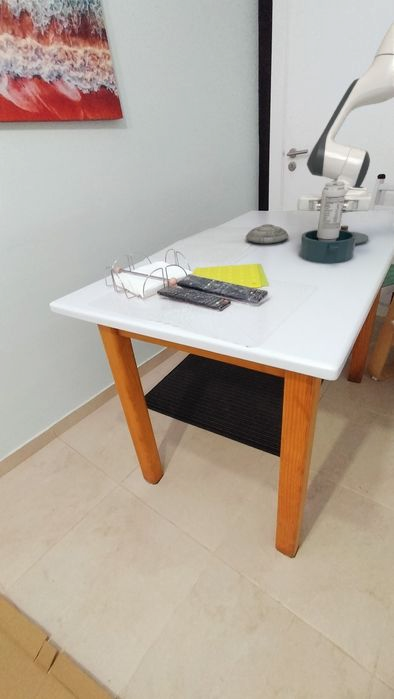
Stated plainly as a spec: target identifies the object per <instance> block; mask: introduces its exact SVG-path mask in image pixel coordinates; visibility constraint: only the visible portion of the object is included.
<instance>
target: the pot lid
mask: <svg viewBox="0 0 394 699" xmlns="http://www.w3.org/2000/svg"><path fill="white" fill-rule="evenodd" d="M340 230H345V231H349V225H344V224H343V225H340ZM351 232H352V233H354V234H355V235H356V241H355V245H361V244H365V243H367V242H368V241H369V236H368V235H367V234H364V233H361V232H358V231H351Z"/></svg>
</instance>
